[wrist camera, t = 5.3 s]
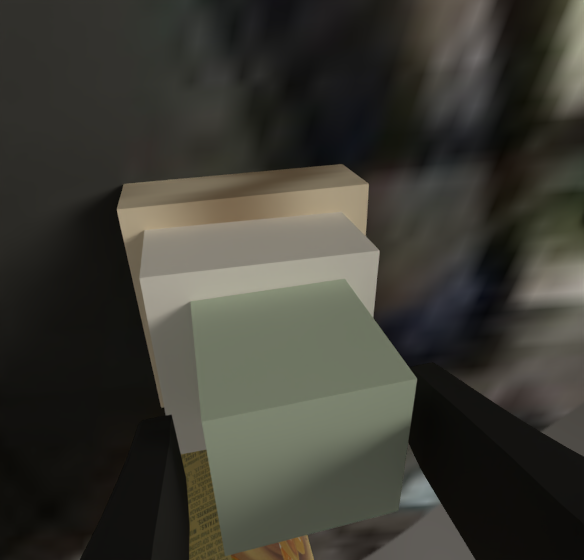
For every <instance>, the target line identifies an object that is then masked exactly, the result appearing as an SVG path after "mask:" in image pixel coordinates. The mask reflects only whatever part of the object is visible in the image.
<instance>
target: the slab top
mask: <svg viewBox="0 0 584 560" xmlns="http://www.w3.org/2000/svg"><path fill="white" fill-rule="evenodd" d="M379 253H380V250H379V249H378V248H377V247H376V246H375V245H374V244H373V243H372V242H371V241H370V240H369V239H368V238H367V237H366V236H365V235H364V234H363V233H362V232H361V231H360V230H359V229H358V228H357V227H356V226H355V225H354V224H353V223H352V222H351V221H350V220H349V219H348V218H347V217H346V216H345V215H344V214H343V213H342V212H333V213H322V214H311V215H301V216H290V217H279V218H269V219H258V220H247V221H236V222H226V223H215V224H204V225H193V226H183V227H172V228H161V229H151V230H144V239H143V249H142V258H141V268H140V277H139V279H140V284H141V289H142V294H143V299H144V305H145V310H146V315H147V320H148V325H149V331H150V336H151V341H152V346H153V351H154V357H155V362H156V367H157V372H158V377H159V383H160V388H161V393H162V398H163V403H164V409H165V414H166V415H171V414H172V418H173V423H174V427H175V431H176V436H177V440H178V444H179V449H180V453H181V454H186V453H191V452H196V451H201V450H206V444H205V439H204V433H203V427H202V421H201V410H200V400H199V389H198V378H197V368H196V357H195V347H194V336H193V325H192V315H191V304H190V302H191V301H198V300H205V299H211V298H218V297H225V296H232V295H238V294H245V293H252V292H259V291H266V290H272V289H279V288H286V287H293V286H299V285H306V284H313V283H320V282H326V281H333V280H340V279H345V280H346V281H347V283H348V284H349V285H350V287H351V288H352V289H353V291H354V292H355V294H356V295H357V296H358V298H359V299H360V300H361V302H362V303H363V305H364V306H365V307H366V309H367V310H368V312H369V313H370V314H371V316H372V317H373V315H374V305H375V294H376V284H377V274H378V263H379Z"/></svg>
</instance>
